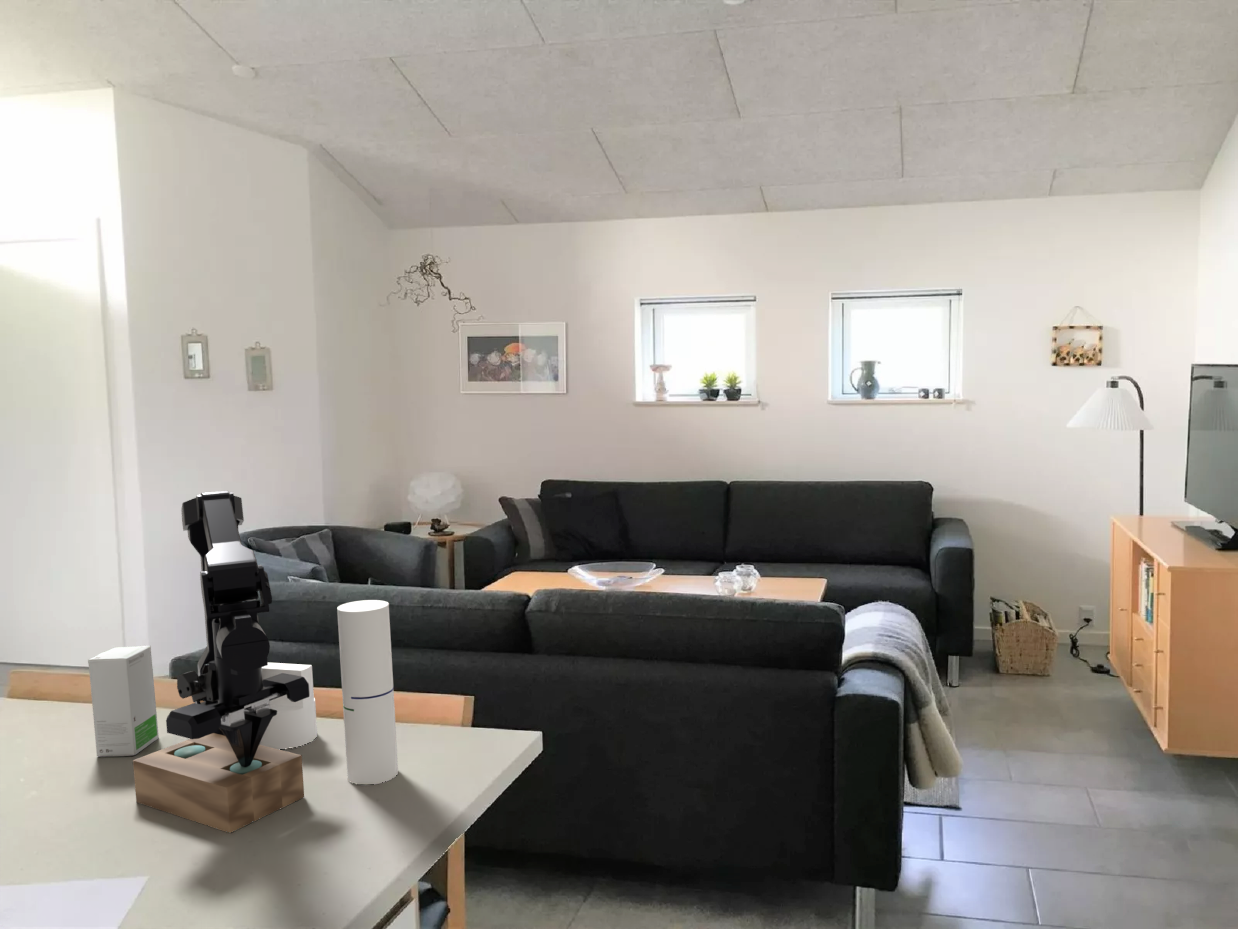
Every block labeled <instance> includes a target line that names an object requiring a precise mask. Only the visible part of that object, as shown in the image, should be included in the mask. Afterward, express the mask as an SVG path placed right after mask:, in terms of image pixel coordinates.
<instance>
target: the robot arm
mask: <svg viewBox="0 0 1238 929" xmlns="http://www.w3.org/2000/svg"><path fill="white" fill-rule="evenodd" d="M243 509H244V508H243V500H242V497H240V496H237V495H235V494H234V491H229V490H220V491H219V490H218V491H206V492H201V493H200V494H196V496H195V497H193V498H191V499H189V500H186V501H184V502H182V504H181V510H180V511H181V524H182V529H183V532H184V531H187V538H188V541H189V542H190V544H191V545H192V547H193V548H194V549H195V551H196V552H197V553H198V555H199V558H200V570H201V571H200V572H199V573H200V574H199V576H200V577H199V578H200V579H199V580H200V590H201V596H202V603H203V610H204V623H205V637H206V647H205V649H204V651H203V652H202V655H201V656H200V657H199V659H198V662H197V672H196V670H192V671H191V670H190V671H187V672H185V673H182V674H178V675H176V684H177V686H176V689H177V693H178V695H179V697H180V698H181V699H182V700H183V699H186V698H189V697H191V700H192V702H193V703H191V704H187V705H184V706H181V707H179V708H176V709H172V710H170V711H169V713H168V715H167V716H166V720H165V723H166V733H167V734H170V735H174V736H179V737H182V738H186V739H199V738H202V737H204V736H207V735H209V734H212V733H215V734H219V735H223V736H226V738H227V739H228V741H229V743H230V745H231V747H232V749H233V751H234V753H235V755H236V757H237V759H238V761H239V763H240V765H241V766H242V767H248V766H250V765H251V763H252V761H253V758H254V756H255V753H256V751H257V749H258V746H259V744H260V741H261V739H262V737H263V735H264V733H265V731H266V729H267V727H268V725H269V723H270V721H271V719H272V717H273V716H275V715H277V710H273V709H270V704H269V701H270V700H273V699H276V698H279V697H281V696H284V695H287V698H288V699H289V700H290V701H292V702H297V701H299V700H302V699H305V698H307V697H309V696H310V693H309V683H308V682H307V680H306V679H305V678H304V677H302V676H296V675H291V674H286V673H281V674H278V675H275V676H272V677H269V678H266V679H263V681H262V667H264V666H267V665H268V656H269V654H270V648H271V647H270V641H269V638H268V636H267V635H266V633H265V631H264V629H263V628H262V627H261V625H260V623H259V615H258V614H262V613H263V614H264V613H269V612H270V605H271V604H272V603H273V596H272V590H271V585H270V580H269V575H268V574H269V573H268V572H267V571H265V567H264V566H263V565H262V564H258V561H257V558H256V555H255V552H254V550H252V549H250V548H248V547H246V546H244V545H243V544H242V540H241V536H240V535H241V534H240V532H239V526H242V525H243V523H244V521H245V519H244V510H243ZM259 597H260V600H259Z"/></svg>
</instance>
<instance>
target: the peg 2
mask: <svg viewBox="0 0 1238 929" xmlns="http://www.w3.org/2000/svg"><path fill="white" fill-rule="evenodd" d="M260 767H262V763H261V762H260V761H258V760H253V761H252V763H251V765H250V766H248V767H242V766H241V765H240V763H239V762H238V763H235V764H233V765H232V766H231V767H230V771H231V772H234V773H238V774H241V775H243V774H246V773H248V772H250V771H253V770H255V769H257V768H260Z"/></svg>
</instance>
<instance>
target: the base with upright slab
mask: <svg viewBox="0 0 1238 929" xmlns="http://www.w3.org/2000/svg"><path fill="white" fill-rule="evenodd" d="M281 673H286V674H291V675H296V676H302V677H304V678H305V679H306V680H307V682H308V683H309V693H310V696H309V697H307V698H305V699H302V700H299V701H297V702H292V701H290V700H289V699H288V698H287V695H284V696H281V697H279V698H276V699H273V700H270V701H269V704H270V709H273V710H277V715H275V716H273V717H272V719H271V721H270V723H269V725H268V727H267V729H266V731H265V733H264V735H263V737H262V739H261V741H260V744H259V745H263V746H267V747H271V748H275V749H285V748H289V747H296V748H298V747H297V746H300V745H303V744H306V745H308V744H307V743H308V742H310V741H312V740H313V739H314V738H315V737H317V738H318V725H317V723H318V722H317V710H316V698H315V697H314V696H315V695H314V678H313V666H312V664H301V663H299V664H297V663H284V662H283V663H282V662H281V663H280V662H268V665H267V666H264V667H262V681H263V679H266V678H269V677H272V676H275V675H278V674H281ZM303 746H304V745H303ZM285 750H286V749H285Z"/></svg>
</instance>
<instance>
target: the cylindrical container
mask: <svg viewBox="0 0 1238 929" xmlns="http://www.w3.org/2000/svg"><path fill="white" fill-rule="evenodd" d="M336 609H337V611H336V613H337V626H338V629H337V630H338V642H339V643H338V644H339V645H338V646H339V660H340V677H341V678H340V679H341V693H342V694H341V695H342V705H343V706H342V710H343V712H342V713H343V724H344V726H343V728H344V738H345V739H344V740H345V758H346V771H347V772H346V774H347V775H346V776H347V780H349V781H351V782H353V783H357V784H374V785H378V784H383V783H386V782H389V781H391V780H393V779H394V778H396V777H397V776H396V775H399V763H398V745H397V727H396V709H395V707H396V706H395V694H394V693H395V692H394V675H393V658H392V657H393V656H392V655H393V654H392V640H391V624H390V623H391V621H390V603H389V602H388V601H385V600H379V599H364V600H363V599H362V600H355V601H350V602H345V603H342V604H339V605H338V606H337V608H336ZM392 778H393V779H392ZM349 781H348V782H349ZM385 781H386V782H385ZM351 782H350V783H351ZM382 782H383V783H382ZM353 783H352V784H353ZM357 784H356V785H357Z"/></svg>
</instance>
